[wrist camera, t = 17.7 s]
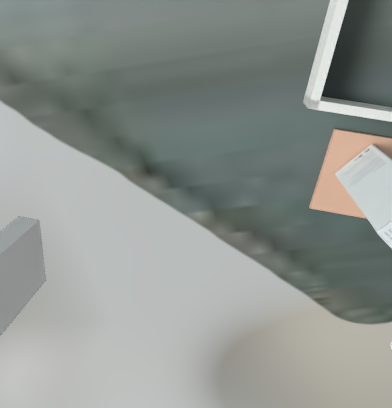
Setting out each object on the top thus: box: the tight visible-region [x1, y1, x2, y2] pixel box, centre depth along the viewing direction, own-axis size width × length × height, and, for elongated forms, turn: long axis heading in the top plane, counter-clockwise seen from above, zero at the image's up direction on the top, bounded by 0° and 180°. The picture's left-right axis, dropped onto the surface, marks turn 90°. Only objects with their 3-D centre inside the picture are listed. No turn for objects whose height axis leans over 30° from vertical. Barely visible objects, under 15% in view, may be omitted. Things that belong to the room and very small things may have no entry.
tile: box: [309, 129, 392, 218], centre depth 44 cm, size 11×11×1 cm
